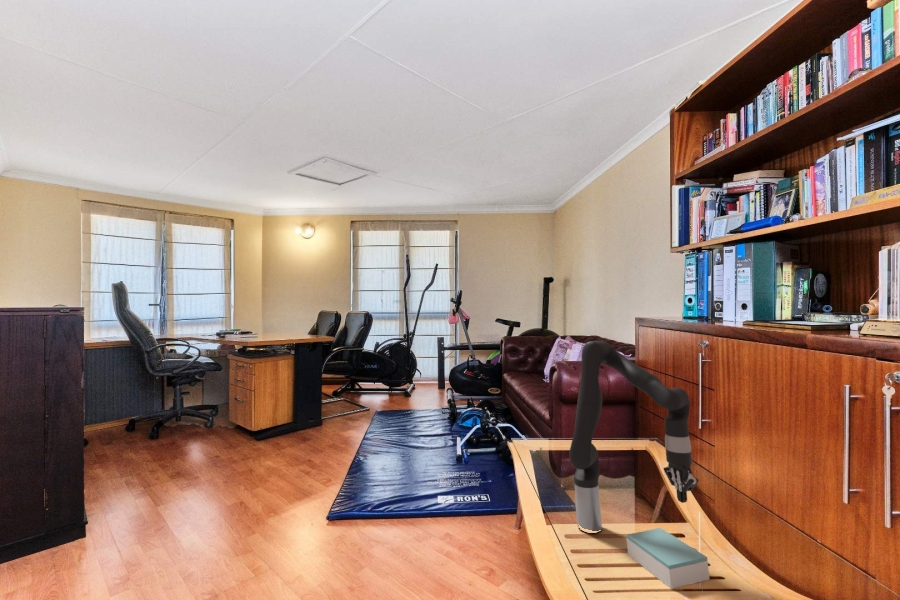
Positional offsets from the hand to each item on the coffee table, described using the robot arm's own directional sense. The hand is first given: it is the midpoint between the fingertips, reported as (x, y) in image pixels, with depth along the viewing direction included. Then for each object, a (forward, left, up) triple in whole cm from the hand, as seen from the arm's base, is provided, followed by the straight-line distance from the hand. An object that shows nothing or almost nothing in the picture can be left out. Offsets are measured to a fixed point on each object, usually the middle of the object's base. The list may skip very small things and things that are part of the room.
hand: (682, 501), depth 131 cm
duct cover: (-2, -7, -15) cm, 16 cm away
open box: (-2, -7, -20) cm, 22 cm away
